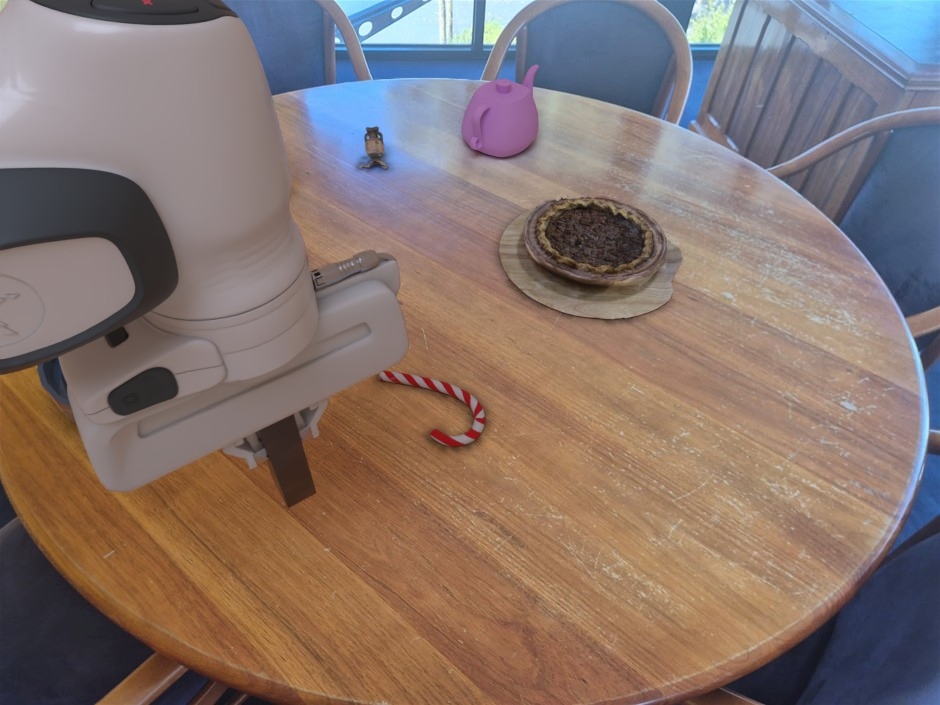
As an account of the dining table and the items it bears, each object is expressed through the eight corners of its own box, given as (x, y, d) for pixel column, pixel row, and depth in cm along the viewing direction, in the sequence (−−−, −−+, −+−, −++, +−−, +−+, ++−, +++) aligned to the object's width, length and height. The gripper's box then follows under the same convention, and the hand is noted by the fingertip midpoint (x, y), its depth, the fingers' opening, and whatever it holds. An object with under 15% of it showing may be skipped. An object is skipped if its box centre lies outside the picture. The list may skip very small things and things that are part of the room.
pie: (649, 345, 82) (659, 318, 78) (466, 278, 90) (468, 251, 86) (698, 235, 99) (708, 208, 96) (541, 187, 107) (544, 161, 104)
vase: (363, 153, 113) (360, 121, 109) (392, 154, 113) (390, 123, 109) (358, 168, 109) (354, 137, 105) (388, 170, 109) (386, 138, 105)
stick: (288, 508, 48) (246, 394, 37) (275, 486, 49) (231, 369, 39) (316, 493, 49) (283, 377, 38) (303, 471, 50) (267, 353, 40)
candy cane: (395, 353, 78) (499, 404, 73) (395, 360, 79) (498, 411, 74) (356, 394, 73) (464, 452, 68) (357, 401, 74) (464, 458, 69)
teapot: (502, 175, 110) (507, 110, 101) (442, 150, 115) (442, 87, 106) (559, 132, 121) (568, 71, 112) (502, 111, 126) (507, 51, 117)
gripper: (371, 215, 40) (385, 359, 50) (19, 341, 32) (121, 483, 42) (423, 268, 37) (427, 410, 47) (44, 424, 28) (149, 557, 38)
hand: (281, 446), depth 44 cm, fingers closed on stick, 2 cm apart
